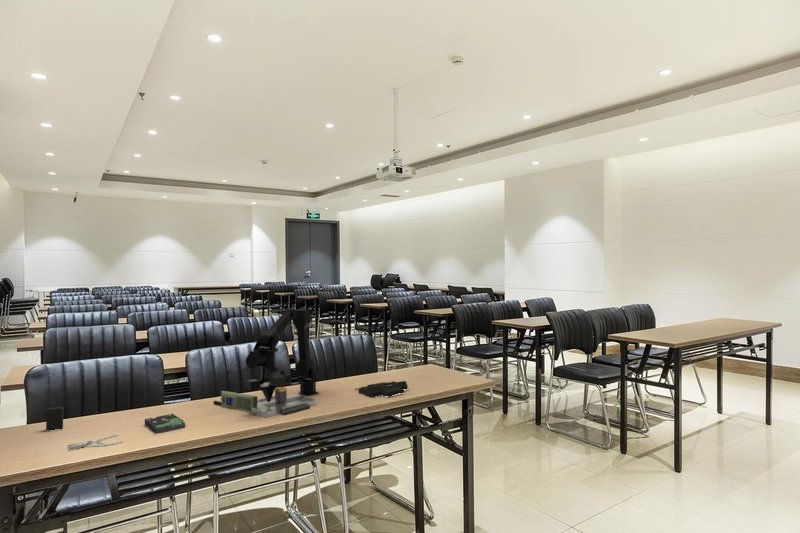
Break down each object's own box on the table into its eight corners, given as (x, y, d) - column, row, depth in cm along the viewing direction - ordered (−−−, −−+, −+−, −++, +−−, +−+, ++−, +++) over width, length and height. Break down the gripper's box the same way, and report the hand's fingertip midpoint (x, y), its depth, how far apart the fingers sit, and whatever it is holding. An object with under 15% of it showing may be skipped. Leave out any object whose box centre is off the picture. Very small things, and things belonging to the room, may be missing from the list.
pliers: (123, 439, 165) (69, 450, 155) (123, 443, 165) (69, 455, 155) (117, 432, 172) (66, 441, 163) (117, 436, 172) (66, 446, 163)
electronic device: (378, 382, 251) (378, 372, 251) (413, 393, 226) (413, 382, 226) (342, 388, 238) (342, 378, 238) (376, 401, 214) (376, 389, 214)
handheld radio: (252, 413, 197) (210, 406, 210) (258, 412, 200) (217, 404, 212) (252, 397, 198) (211, 390, 210) (259, 395, 200) (217, 389, 213)
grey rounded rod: (281, 399, 218) (281, 392, 218) (286, 400, 215) (286, 394, 215) (255, 405, 208) (255, 398, 208) (260, 406, 206) (259, 400, 206)
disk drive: (143, 426, 184) (156, 435, 173) (143, 419, 184) (156, 427, 173) (172, 420, 191) (186, 428, 180) (172, 413, 191) (186, 421, 180)
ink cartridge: (63, 427, 182) (63, 406, 182) (62, 429, 180) (62, 407, 180) (47, 429, 179) (47, 408, 180) (46, 431, 177) (46, 409, 178)
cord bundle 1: (304, 406, 205) (304, 400, 205) (310, 408, 202) (310, 401, 202) (277, 413, 196) (277, 406, 196) (283, 415, 193) (283, 408, 193)
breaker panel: (294, 398, 219) (294, 393, 219) (315, 404, 208) (315, 399, 208) (245, 409, 202) (245, 404, 202) (265, 417, 191) (265, 411, 191)
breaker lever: (281, 399, 208) (281, 386, 208) (286, 401, 205) (286, 388, 205) (274, 401, 205) (274, 388, 205) (280, 402, 202) (280, 389, 202)
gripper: (257, 370, 189) (258, 410, 189) (298, 363, 202) (299, 400, 202) (243, 366, 196) (244, 405, 196) (283, 359, 210) (284, 395, 210)
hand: (268, 401), depth 201 cm, fingers closed
